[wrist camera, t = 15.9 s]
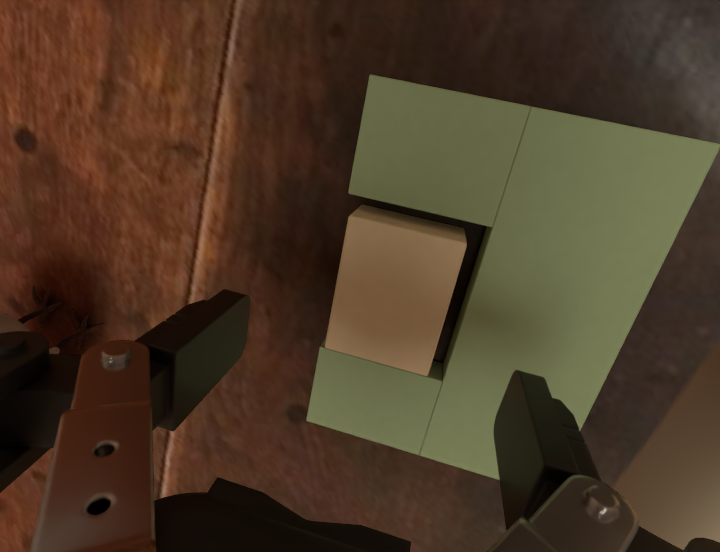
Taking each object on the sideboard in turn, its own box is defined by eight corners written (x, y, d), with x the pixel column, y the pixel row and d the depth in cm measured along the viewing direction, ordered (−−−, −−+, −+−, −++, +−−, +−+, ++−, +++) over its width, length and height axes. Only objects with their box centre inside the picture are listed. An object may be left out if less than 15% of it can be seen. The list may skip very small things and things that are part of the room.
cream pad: (361, 203, 18) (348, 214, 16) (465, 227, 18) (467, 243, 15) (338, 322, 20) (323, 348, 18) (430, 347, 20) (427, 377, 18)
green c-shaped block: (376, 78, 17) (369, 74, 15) (695, 142, 15) (722, 144, 14) (315, 401, 22) (305, 421, 21) (541, 469, 21) (548, 495, 19)
